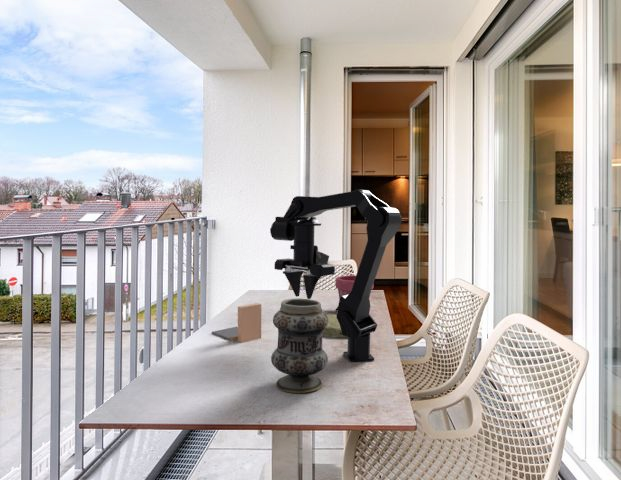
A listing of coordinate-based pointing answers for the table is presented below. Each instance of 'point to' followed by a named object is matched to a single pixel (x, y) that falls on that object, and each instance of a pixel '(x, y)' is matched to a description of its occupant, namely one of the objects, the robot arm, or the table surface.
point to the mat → (226, 332)
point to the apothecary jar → (299, 345)
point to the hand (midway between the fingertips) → (303, 297)
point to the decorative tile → (333, 327)
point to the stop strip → (234, 338)
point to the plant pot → (345, 284)
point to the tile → (249, 322)
